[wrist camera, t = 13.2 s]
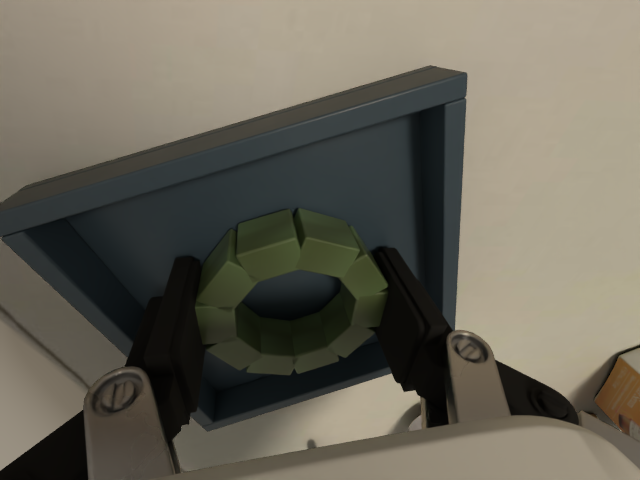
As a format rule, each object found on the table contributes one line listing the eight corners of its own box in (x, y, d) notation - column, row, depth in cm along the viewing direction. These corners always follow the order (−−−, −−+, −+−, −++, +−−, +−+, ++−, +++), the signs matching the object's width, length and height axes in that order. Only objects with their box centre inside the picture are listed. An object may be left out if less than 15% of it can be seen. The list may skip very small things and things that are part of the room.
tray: (25, 185, 9) (-24, 218, 7) (431, 64, 9) (468, 72, 7) (211, 393, 16) (207, 432, 14) (434, 323, 16) (454, 354, 15)
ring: (165, 244, 10) (151, 281, 8) (359, 185, 10) (378, 212, 9) (240, 354, 14) (239, 393, 12) (381, 310, 14) (396, 343, 12)
